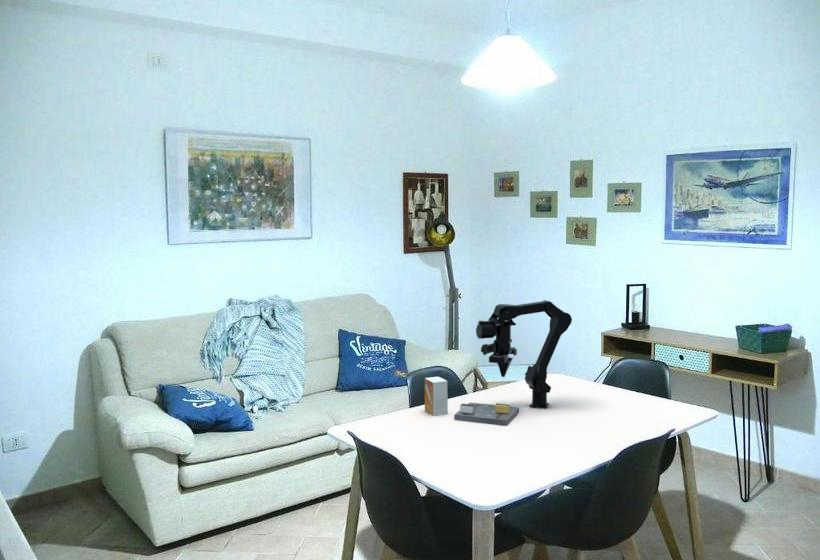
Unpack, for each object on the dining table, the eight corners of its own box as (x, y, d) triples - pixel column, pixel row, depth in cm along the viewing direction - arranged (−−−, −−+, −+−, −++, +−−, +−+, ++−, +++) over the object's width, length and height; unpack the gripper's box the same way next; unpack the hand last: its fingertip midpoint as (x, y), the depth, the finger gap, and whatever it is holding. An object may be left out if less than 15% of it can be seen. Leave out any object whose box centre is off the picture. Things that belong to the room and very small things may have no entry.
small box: (424, 410, 283) (424, 377, 281) (439, 408, 285) (438, 376, 284) (433, 416, 275) (432, 382, 274) (448, 414, 278) (447, 380, 276)
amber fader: (497, 410, 273) (497, 402, 273) (510, 411, 271) (510, 403, 271) (494, 412, 271) (494, 404, 270) (507, 413, 269) (507, 405, 268)
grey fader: (462, 410, 274) (462, 402, 273) (475, 411, 272) (475, 404, 271) (460, 412, 271) (460, 404, 271) (472, 413, 269) (472, 406, 269)
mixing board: (469, 407, 286) (469, 402, 286) (519, 412, 278) (519, 407, 278) (454, 419, 270) (454, 414, 269) (506, 425, 262) (506, 420, 262)
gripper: (490, 331, 292) (490, 370, 293) (475, 339, 275) (475, 380, 276) (517, 333, 287) (517, 372, 289) (504, 341, 270) (504, 382, 272)
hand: (503, 376), depth 281 cm, fingers closed
